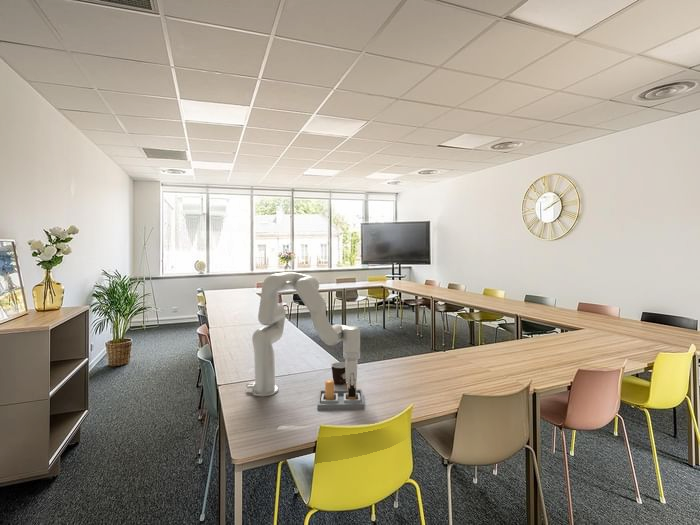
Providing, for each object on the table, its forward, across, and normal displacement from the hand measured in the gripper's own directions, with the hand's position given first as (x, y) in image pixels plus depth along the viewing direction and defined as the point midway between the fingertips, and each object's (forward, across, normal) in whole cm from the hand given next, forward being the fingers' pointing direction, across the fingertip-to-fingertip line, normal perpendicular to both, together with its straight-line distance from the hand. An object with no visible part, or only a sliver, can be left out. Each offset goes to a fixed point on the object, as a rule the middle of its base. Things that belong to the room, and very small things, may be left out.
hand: (351, 394), depth 153 cm
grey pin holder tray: (+4, 0, -5) cm, 7 cm away
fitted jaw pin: (+3, 0, -10) cm, 10 cm away
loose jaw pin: (+2, 0, 0) cm, 2 cm away
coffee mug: (+4, -22, -4) cm, 23 cm away
